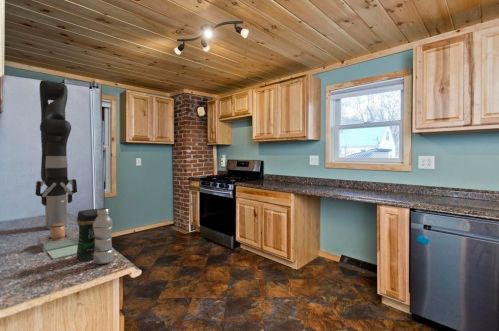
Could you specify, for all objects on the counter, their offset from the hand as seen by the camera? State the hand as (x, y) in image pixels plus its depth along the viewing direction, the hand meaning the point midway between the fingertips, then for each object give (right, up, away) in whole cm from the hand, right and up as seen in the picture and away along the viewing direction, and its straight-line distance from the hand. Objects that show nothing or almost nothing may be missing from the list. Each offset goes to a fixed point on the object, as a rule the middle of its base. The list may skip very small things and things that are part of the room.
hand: (57, 204), depth 113 cm
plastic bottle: (+29, -19, -16) cm, 38 cm away
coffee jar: (+21, -19, -11) cm, 31 cm away
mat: (+9, -18, -7) cm, 21 cm away
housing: (0, -18, +1) cm, 18 cm away
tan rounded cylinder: (0, -18, +1) cm, 18 cm away
